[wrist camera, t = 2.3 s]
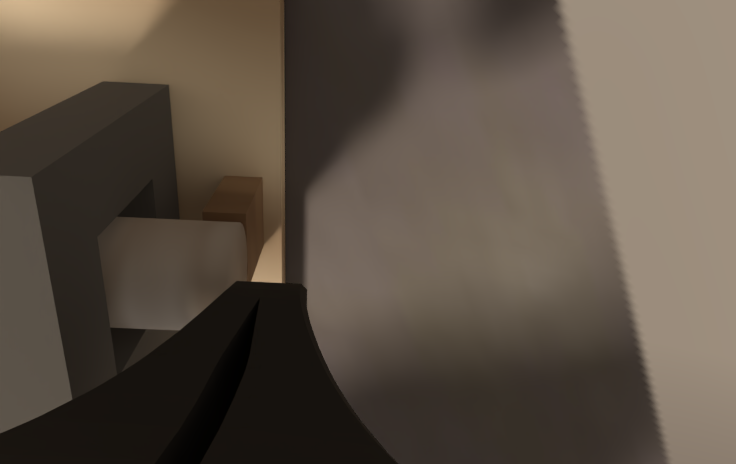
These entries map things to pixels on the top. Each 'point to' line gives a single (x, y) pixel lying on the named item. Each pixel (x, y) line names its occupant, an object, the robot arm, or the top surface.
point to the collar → (75, 239)
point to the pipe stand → (190, 136)
